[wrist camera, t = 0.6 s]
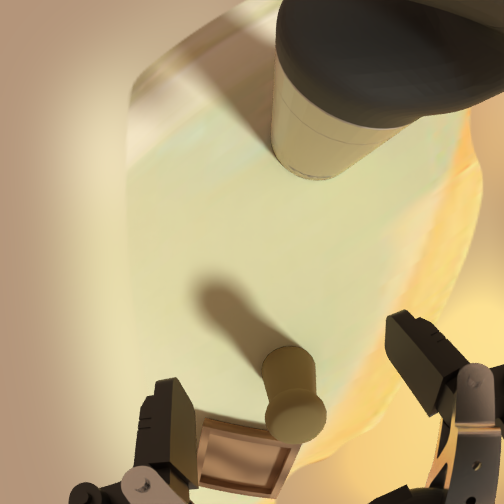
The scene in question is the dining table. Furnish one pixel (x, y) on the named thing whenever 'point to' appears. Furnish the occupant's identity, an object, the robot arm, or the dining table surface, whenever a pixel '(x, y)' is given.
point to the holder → (243, 460)
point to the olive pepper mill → (292, 396)
